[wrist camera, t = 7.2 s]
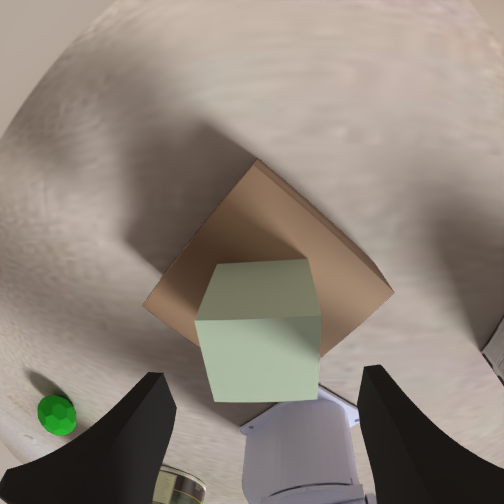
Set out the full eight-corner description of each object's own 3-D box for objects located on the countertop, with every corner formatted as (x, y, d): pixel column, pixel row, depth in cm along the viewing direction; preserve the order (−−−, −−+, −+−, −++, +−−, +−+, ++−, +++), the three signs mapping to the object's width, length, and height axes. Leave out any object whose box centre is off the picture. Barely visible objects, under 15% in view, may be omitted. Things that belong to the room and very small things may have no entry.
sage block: (308, 332, 17) (317, 399, 12) (228, 336, 17) (214, 401, 12) (307, 258, 15) (321, 315, 10) (217, 264, 15) (194, 320, 11)
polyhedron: (76, 394, 27) (58, 424, 23) (87, 419, 29) (72, 448, 25) (43, 381, 27) (24, 408, 23) (56, 407, 29) (40, 433, 25)
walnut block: (273, 354, 22) (273, 393, 19) (163, 275, 20) (141, 306, 17) (374, 263, 19) (394, 292, 15) (257, 158, 17) (253, 165, 14)
